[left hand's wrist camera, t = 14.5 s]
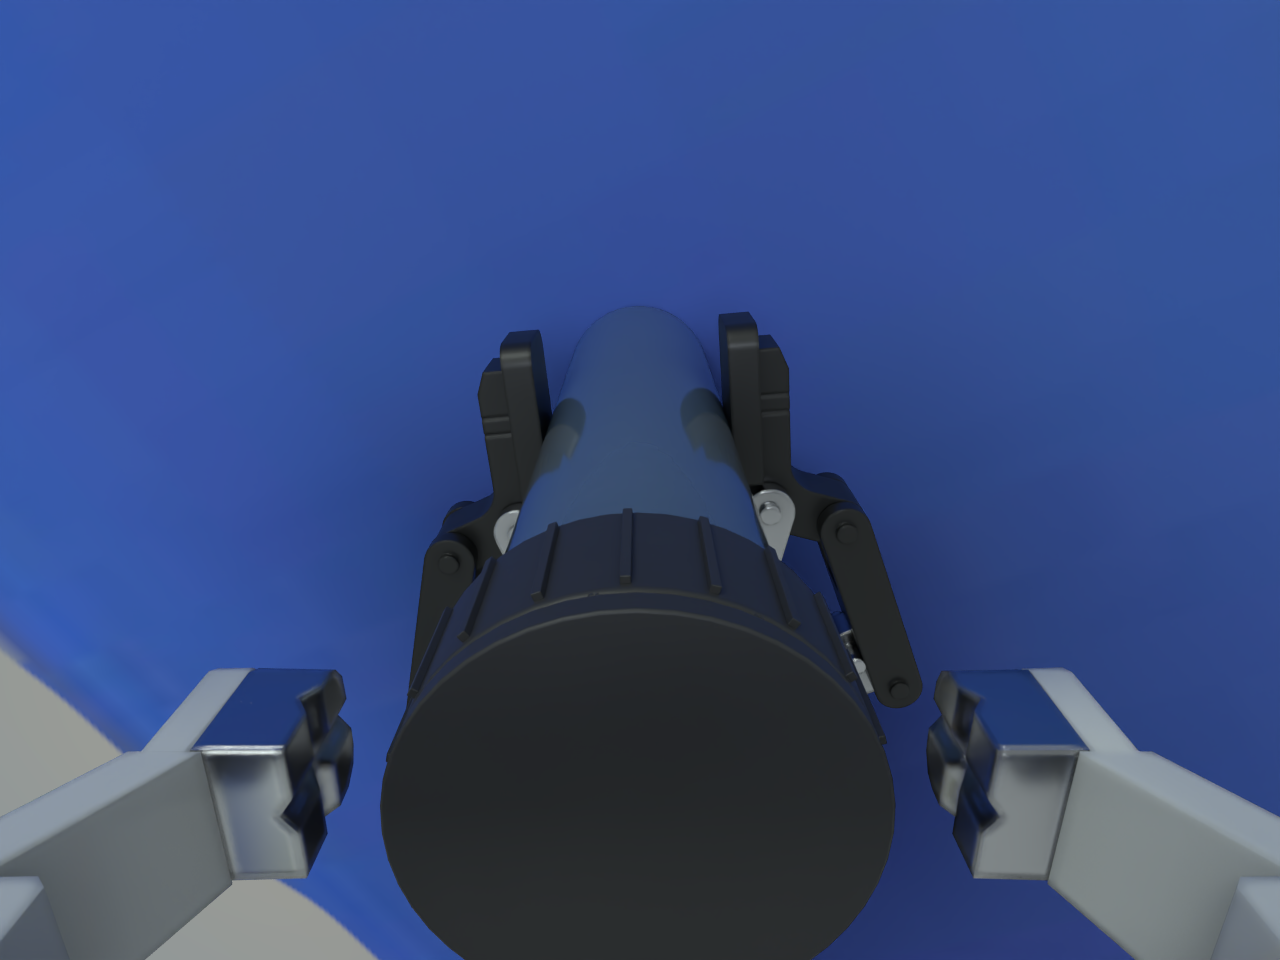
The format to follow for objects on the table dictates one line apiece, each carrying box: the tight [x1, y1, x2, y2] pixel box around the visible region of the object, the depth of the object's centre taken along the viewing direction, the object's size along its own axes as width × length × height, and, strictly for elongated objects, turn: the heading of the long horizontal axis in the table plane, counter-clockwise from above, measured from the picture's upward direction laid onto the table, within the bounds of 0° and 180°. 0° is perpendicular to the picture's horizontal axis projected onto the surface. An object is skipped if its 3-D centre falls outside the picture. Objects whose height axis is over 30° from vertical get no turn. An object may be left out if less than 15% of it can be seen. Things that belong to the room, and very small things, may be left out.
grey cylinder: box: [505, 306, 770, 553], centre depth 17 cm, size 4×4×18 cm
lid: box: [380, 508, 895, 960], centre depth 9 cm, size 5×5×2 cm
